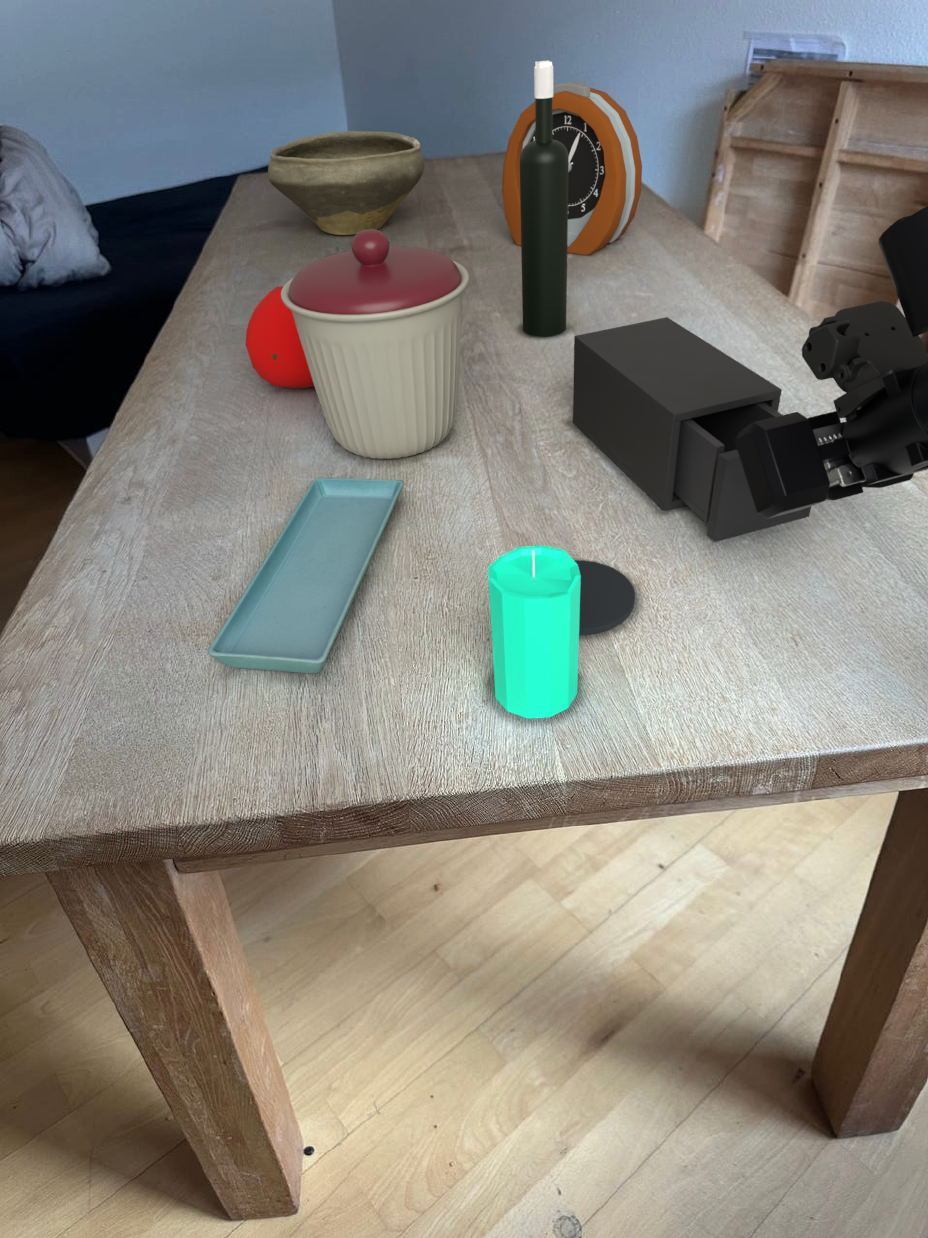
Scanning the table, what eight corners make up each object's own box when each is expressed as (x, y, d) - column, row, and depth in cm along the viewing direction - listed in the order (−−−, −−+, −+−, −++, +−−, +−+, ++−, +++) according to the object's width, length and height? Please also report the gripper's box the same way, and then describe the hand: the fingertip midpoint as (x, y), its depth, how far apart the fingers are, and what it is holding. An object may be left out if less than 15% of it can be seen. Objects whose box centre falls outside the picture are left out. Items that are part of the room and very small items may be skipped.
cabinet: (764, 485, 79) (782, 389, 73) (663, 511, 77) (673, 414, 71) (659, 402, 94) (667, 316, 88) (572, 422, 91) (574, 335, 85)
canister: (499, 407, 95) (491, 206, 82) (442, 489, 82) (421, 265, 69) (355, 393, 101) (326, 202, 87) (281, 467, 88) (232, 256, 74)
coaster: (658, 604, 67) (659, 598, 66) (570, 651, 63) (570, 645, 63) (583, 553, 73) (584, 547, 72) (499, 593, 69) (499, 587, 69)
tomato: (291, 427, 102) (360, 387, 110) (321, 351, 92) (394, 313, 100) (215, 356, 102) (290, 321, 111) (238, 272, 92) (318, 241, 101)
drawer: (818, 523, 72) (837, 441, 67) (722, 550, 70) (735, 467, 65) (695, 427, 87) (704, 354, 82) (613, 447, 85) (617, 373, 80)
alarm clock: (495, 241, 144) (489, 86, 130) (528, 226, 150) (525, 76, 136) (609, 258, 133) (616, 91, 119) (639, 241, 139) (649, 79, 125)
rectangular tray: (317, 494, 83) (312, 472, 82) (407, 498, 82) (404, 475, 80) (212, 678, 63) (203, 653, 62) (328, 687, 62) (322, 662, 60)
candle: (508, 727, 58) (502, 588, 50) (483, 670, 62) (474, 535, 55) (590, 707, 59) (596, 567, 51) (560, 652, 63) (561, 516, 56)
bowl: (311, 260, 143) (295, 167, 134) (259, 225, 162) (243, 142, 153) (456, 227, 152) (450, 139, 143) (391, 199, 171) (382, 119, 162)
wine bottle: (536, 318, 116) (534, 57, 97) (573, 324, 113) (579, 57, 94) (514, 332, 112) (508, 64, 93) (552, 339, 109) (553, 65, 90)
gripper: (1034, 251, 53) (870, 357, 68) (777, 303, 49) (663, 404, 64) (1092, 418, 52) (913, 488, 67) (836, 486, 48) (707, 544, 63)
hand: (801, 477), depth 65 cm, fingers closed
